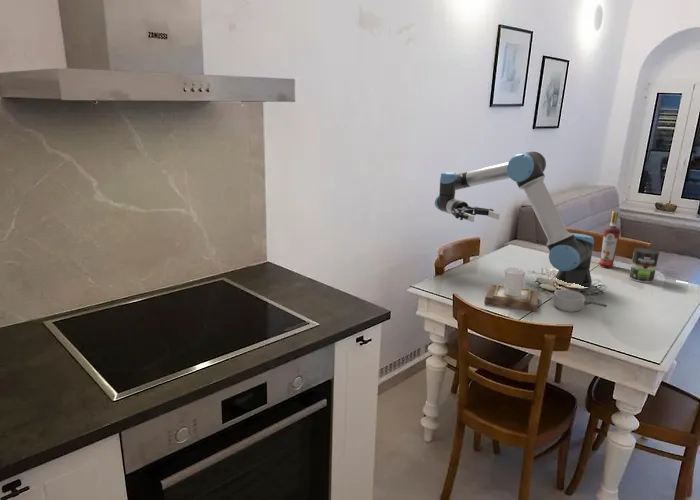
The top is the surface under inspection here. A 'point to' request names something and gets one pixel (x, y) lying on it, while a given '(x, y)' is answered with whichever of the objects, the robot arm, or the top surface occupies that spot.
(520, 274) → the white cup
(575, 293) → the saucepan
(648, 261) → the coffee can
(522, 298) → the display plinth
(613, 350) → the top surface
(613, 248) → the liquor
